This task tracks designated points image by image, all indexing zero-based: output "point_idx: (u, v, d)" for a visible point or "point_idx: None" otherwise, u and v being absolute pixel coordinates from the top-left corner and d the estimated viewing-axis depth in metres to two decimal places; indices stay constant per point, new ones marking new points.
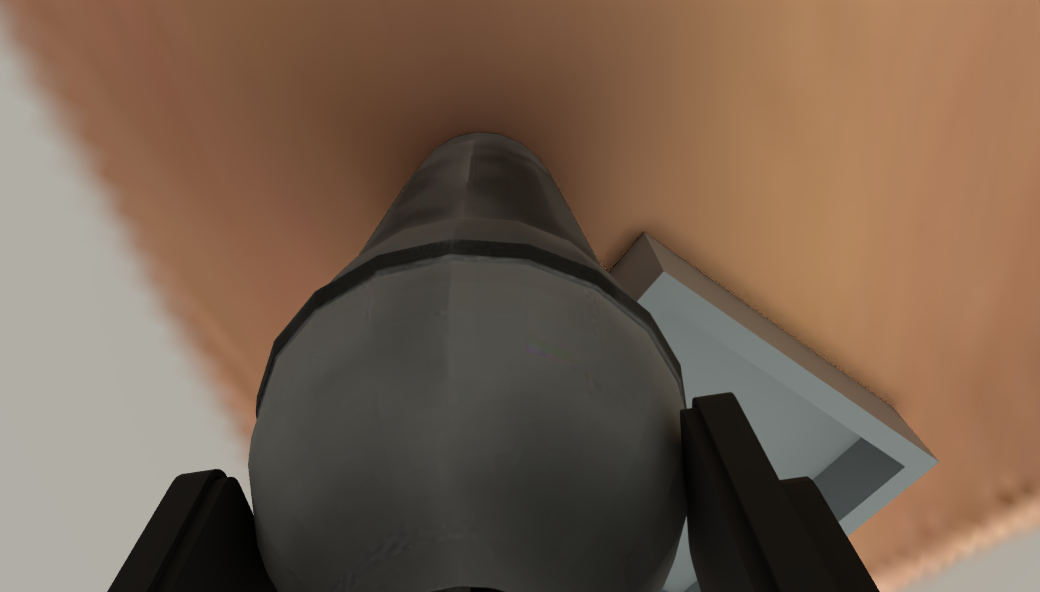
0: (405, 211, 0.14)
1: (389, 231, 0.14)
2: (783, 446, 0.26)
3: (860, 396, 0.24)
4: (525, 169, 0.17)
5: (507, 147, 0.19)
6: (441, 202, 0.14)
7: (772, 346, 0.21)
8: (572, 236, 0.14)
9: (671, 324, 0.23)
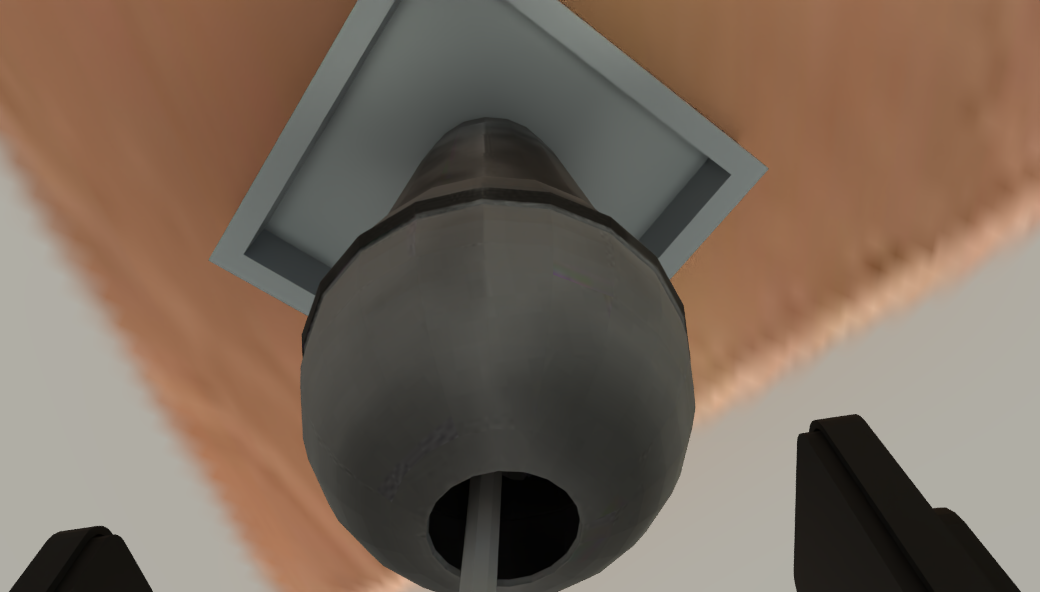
0: (428, 178, 0.16)
1: (415, 193, 0.15)
2: (613, 180, 0.23)
3: (683, 100, 0.22)
4: (534, 146, 0.19)
5: (516, 128, 0.20)
6: (462, 168, 0.15)
7: (559, 2, 0.19)
8: (582, 199, 0.15)
9: (467, 11, 0.21)
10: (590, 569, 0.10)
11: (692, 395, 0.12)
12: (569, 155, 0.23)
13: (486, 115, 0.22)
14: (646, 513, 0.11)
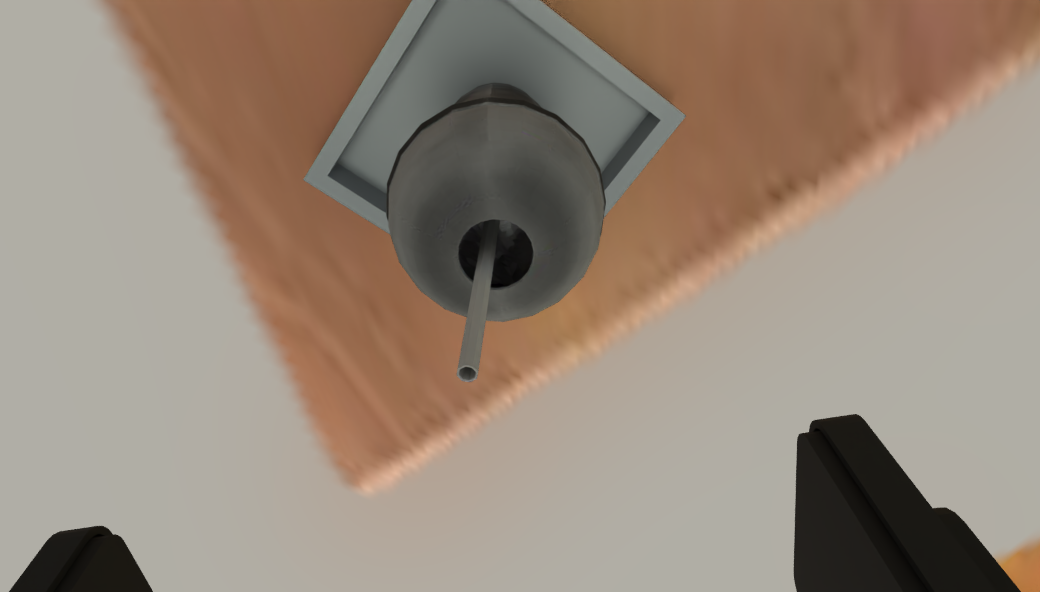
0: None
1: None
2: (582, 128, 0.34)
3: None
4: (524, 96, 0.29)
5: (513, 87, 0.31)
6: None
7: (542, 2, 0.29)
8: None
9: (481, 9, 0.31)
10: (540, 287, 0.20)
11: (599, 209, 0.22)
12: (551, 110, 0.33)
13: (494, 81, 0.32)
14: (569, 259, 0.20)
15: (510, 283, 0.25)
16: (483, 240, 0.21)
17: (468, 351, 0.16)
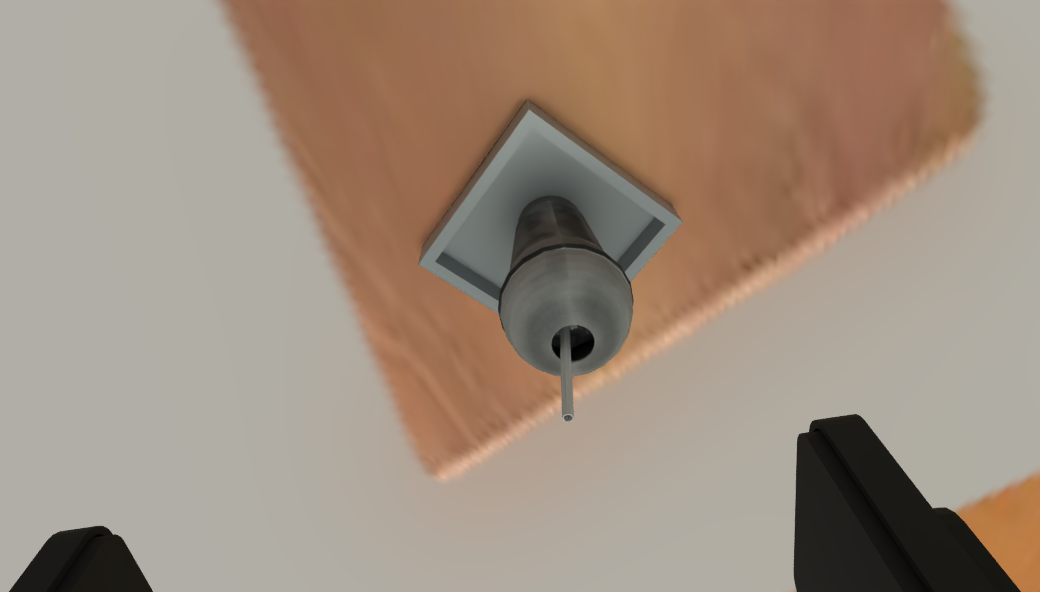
0: (535, 233, 0.40)
1: (532, 240, 0.39)
2: (610, 224, 0.48)
3: (643, 189, 0.46)
4: (574, 215, 0.43)
5: (565, 204, 0.45)
6: (549, 230, 0.39)
7: (586, 151, 0.43)
8: (595, 242, 0.39)
9: (542, 149, 0.45)
10: (597, 360, 0.35)
11: (631, 310, 0.36)
12: (589, 213, 0.47)
13: (549, 194, 0.47)
14: (614, 343, 0.35)
15: (571, 347, 0.39)
16: (562, 330, 0.35)
17: (567, 405, 0.31)
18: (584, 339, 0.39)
